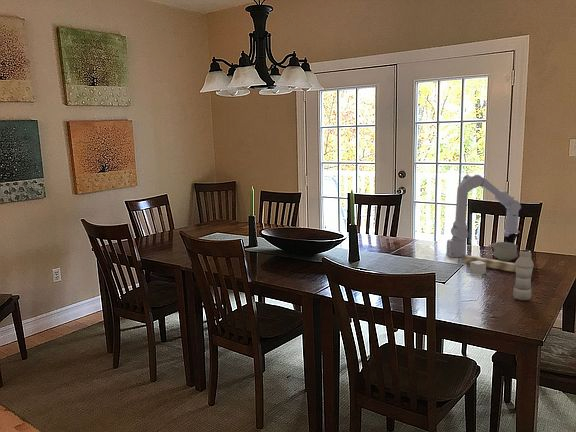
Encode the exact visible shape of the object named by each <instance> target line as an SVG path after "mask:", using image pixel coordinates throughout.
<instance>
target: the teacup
mask: <svg viewBox="0 0 576 432" xmlns="http://www.w3.org/2000/svg"><path fill="white" fill-rule="evenodd" d="M491 247H492V248H493V251H492V250H491V249H490V248H491ZM517 249H518V245H517V244H516V243H514V244H513V243H509V242H507V241H498V242H494V244H488V246H487V251H488V252H489V253H491V254H492V255H493V256H495V258H497V260H498V261H504V262H510V261H512V260H514V259H515V258H516V256H517V251H518V250H517Z"/></svg>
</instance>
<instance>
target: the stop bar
mask: <svg viewBox="0 0 576 432" xmlns="http://www.w3.org/2000/svg"><path fill="white" fill-rule="evenodd" d="M472 261H481V262H484V263H486V268H491V269H494V270H495V269H497V270H502V271H507V272H512V273H516V267H515V263H516V262H510V261H502V260H499V259H491V258H485V257H479V256H474V255H469V254H466V255H462V257H461V263H463V264H467V265H468V264H469V265H470V262H472Z"/></svg>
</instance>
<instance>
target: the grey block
mask: <svg viewBox="0 0 576 432" xmlns="http://www.w3.org/2000/svg"><path fill="white" fill-rule="evenodd" d="M469 273H471V274H474V275H477V276H479V275H483V274H486V273H487V267H486V263H484V262H481V261H472V262H470V264H469Z"/></svg>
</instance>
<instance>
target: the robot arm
mask: <svg viewBox="0 0 576 432" xmlns="http://www.w3.org/2000/svg"><path fill="white" fill-rule="evenodd" d="M479 187H480V188H484V189H486V190H487V191H489V192H490V193H491V194H492V195H494V198H495V200H496V201H498V202H499V203H500V204H501V205H503V206H504V207H505V209H506V213H505V214H506V216H505V229H504V233H503V236H504V238H505V240H506V241H505V242H509V243H513V244H515V241H516V239H517V238H518V235H519V233H520V230H519V228H518V226H519V225H518V224H519V211H520V210H521V209H522V205H521V202H520V201H518V200H515V197H514V196H511V195H510V194H508V191H507V190H502V189H501V190H499V188H498V187H496V186H495V185H493V184H492V183H491V182H490V181H489V180H488V179H487V178H485V177H482V175H480V174H475V173H473V172H469V173H468V174H466V175H464V176H463V177H462V180H461V182H460V183H459V185H458V186H457V191H456V203H455V204H456V207H455V220H454V222H453V223H452V227H451V230H450V234H451V235H452V237H451V239H448V240H447V241H446V253H445V254H446V255H447V256H448V257H450V258H462V255H467V238H468V237H469V231H468V225H467V222H466V221H467V211H468V210H467V209H468V208H467V207H468V196H469V192H470V191H472V190H474V189H476V188H479Z"/></svg>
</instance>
